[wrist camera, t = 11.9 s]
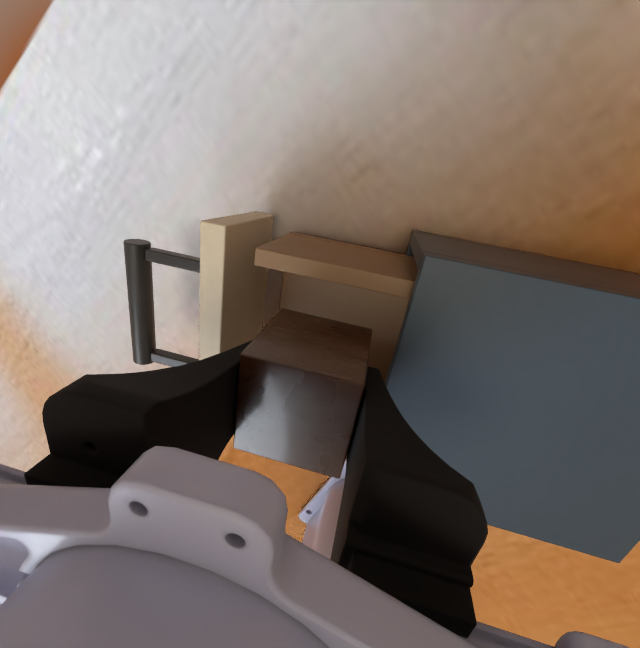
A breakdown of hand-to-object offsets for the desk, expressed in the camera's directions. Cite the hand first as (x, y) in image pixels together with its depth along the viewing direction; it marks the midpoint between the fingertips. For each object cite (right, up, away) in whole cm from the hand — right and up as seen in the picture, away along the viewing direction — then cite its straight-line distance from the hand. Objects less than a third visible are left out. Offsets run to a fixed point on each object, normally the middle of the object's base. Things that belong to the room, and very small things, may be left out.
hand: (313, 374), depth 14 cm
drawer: (-1, +3, +8) cm, 9 cm away
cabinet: (+11, +1, +7) cm, 13 cm away
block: (0, +1, +1) cm, 1 cm away
